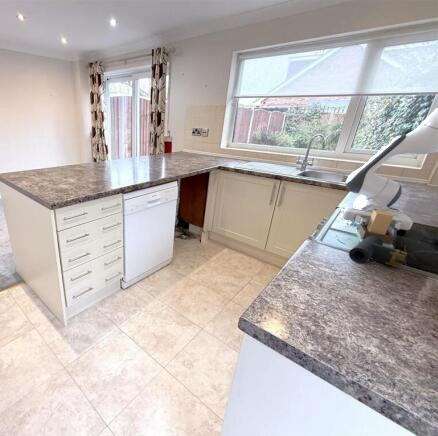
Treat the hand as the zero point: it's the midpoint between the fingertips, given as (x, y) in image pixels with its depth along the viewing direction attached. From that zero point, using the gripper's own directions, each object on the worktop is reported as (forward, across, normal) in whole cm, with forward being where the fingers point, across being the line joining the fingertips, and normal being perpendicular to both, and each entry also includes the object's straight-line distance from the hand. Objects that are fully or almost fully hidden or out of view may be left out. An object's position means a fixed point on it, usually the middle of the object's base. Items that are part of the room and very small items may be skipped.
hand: (379, 225), depth 90 cm
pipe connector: (+17, -2, +7) cm, 19 cm away
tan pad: (-1, 0, +6) cm, 6 cm away
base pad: (-1, 0, +7) cm, 7 cm away
